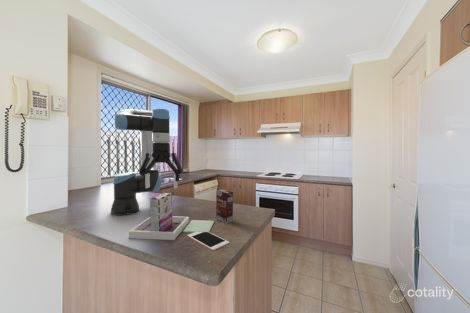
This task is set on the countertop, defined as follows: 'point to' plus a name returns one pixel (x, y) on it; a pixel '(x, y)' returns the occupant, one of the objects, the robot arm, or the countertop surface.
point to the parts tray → (140, 234)
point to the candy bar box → (161, 212)
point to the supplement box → (224, 206)
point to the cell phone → (208, 240)
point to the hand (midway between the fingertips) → (161, 187)
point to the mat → (199, 226)
